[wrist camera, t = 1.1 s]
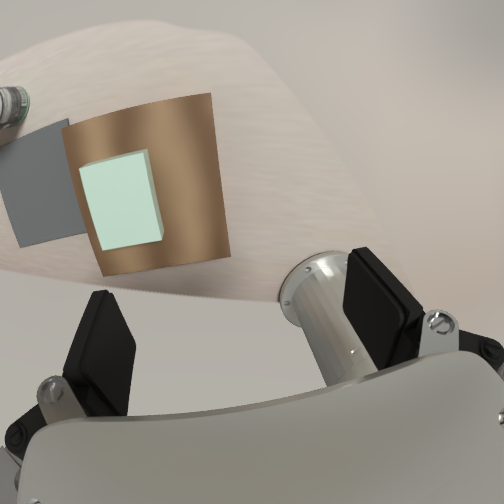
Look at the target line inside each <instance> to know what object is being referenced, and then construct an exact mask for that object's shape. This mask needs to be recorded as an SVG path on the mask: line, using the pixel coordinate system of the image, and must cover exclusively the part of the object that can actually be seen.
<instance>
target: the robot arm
mask: <svg viewBox="0 0 504 504" xmlns="http://www.w3.org/2000/svg"><path fill="white" fill-rule="evenodd" d="M280 305H281V309H282V311H283V314H284V316H285V317H286V318H287V320H288V321H290V322H291V323H292V324H294V325H296V326H298V327H302V329H303V331H304V334H305V336H306V338H307V341H308V343H309V345H310V348H311V350H312V352H313V355H314V357H315V359H316V362H317V364H318V366H319V369H320V371H321V373H322V376H323V378H324V381H325V383H326V385H327V387H325V388H322V389H318V390H314V391H310V392H306V393H302V394H298V395H294V396H289V397H285V398H281V399H275V400H271V401H265V402H261V403H255V404H249V405H243V406H237V407H231V408H224V409H217V410H208V411H200V412H190V413H179V414H167V415H147V416H127V412H128V402H129V394H130V386H131V379H132V371H133V364H134V358H135V352H136V343H135V340H134V338H133V336H132V334H131V332H130V330H129V328H128V326H127V324H126V322H125V319H124V317H123V315H122V313H121V311H120V309H119V306H118V304H117V302H116V300H115V297H114V295H113V294H112V293H109V292H108V291H107V290H100V291H94V292H93V293H92V295H91V297H90V299H89V302H88V304H87V307H86V309H85V311H84V314H83V316H82V319H81V321H80V324H79V327H78V329H77V331H76V334H75V337H74V340H73V342H72V345H71V347H70V350H69V353H68V356H67V359H66V362H65V365H64V368H63V374H62V377H61V376H56V375H55V376H51V377H49V378H47V379H45V380H44V381H43V382H42V383H41V385H40V386H39V388H38V391H37V396H36V397H37V401H38V404H37V405H36V406H34V407H33V408H32V409H30V410H29V411H28V412H27V413H25V414H24V415H23V416H22V417H20V418H19V419H18V420H16V421H15V422H14V423H13V424H11V425H10V426H9V428H8V429H7V431H6V435H5V445H6V447H5V448H4V447H3V446H2V447H1V448H0V504H504V348H503V347H502V346H501V344H500V343H499V342H497V341H496V340H494V339H491V338H488V337H484V336H480V335H477V334H473V333H470V332H466V331H462V330H459V327H458V322H457V320H456V319H455V318H454V317H453V316H452V315H451V314H449V313H448V312H446V311H443V310H431V311H429V312H427V313H425V312H424V311H423V307H422V306H421V305H420V303H419V302H418V301H417V300H416V299H415V298H414V297H413V295H412V294H411V293H410V292H409V291H408V290H407V289H406V288H405V287H404V286H403V284H402V283H401V282H400V281H399V280H398V279H397V278H396V277H395V276H394V275H393V274H392V273H391V271H390V270H389V269H388V268H387V267H386V266H385V265H384V264H383V263H382V262H381V261H380V260H379V259H378V258H377V257H376V256H375V255H374V254H373V253H372V252H371V251H370V250H369V249H368V248H367V247H362V248H357V249H353V250H352V252H351V253H350V254H347V253H343V252H325V253H321V254H318V255H315V256H313V257H311V258H309V259H307V260H305V261H304V262H302V263H301V264H300V265H298V266H297V267H296V268H295V269H294V270H293V271H292V272H291V273H290V274H289V276H288V277H287V279H286V280H285V282H284V284H283V286H282V289H281V293H280Z"/></svg>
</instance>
